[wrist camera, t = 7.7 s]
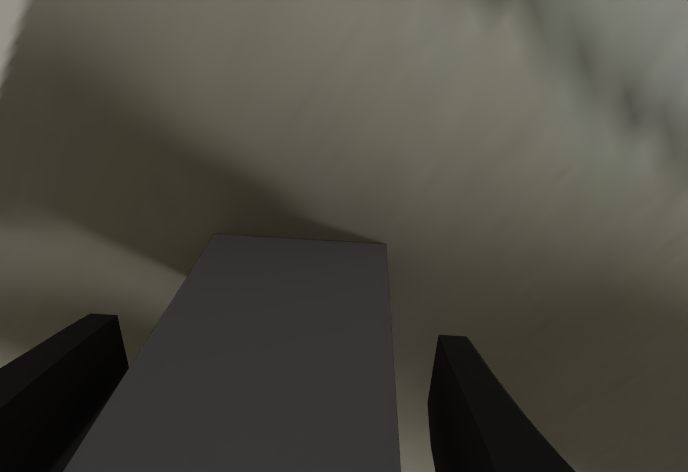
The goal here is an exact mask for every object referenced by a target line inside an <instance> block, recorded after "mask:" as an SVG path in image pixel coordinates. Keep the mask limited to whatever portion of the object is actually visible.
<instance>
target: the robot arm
mask: <svg viewBox="0 0 688 472" xmlns="http://www.w3.org/2000/svg"><path fill="white" fill-rule="evenodd" d="M128 369H129V366H128V362H127V357H126V353H125V348H124V344H123V339H122V335H121V330H120V325H119V321H118V316H117V315H104V314H89V315H87V316H85V317H84V318H82V319H80V320H78V321H77V322H75V323H73V324H71V325H70V326H68V327H66V328H65V329H63V330H62V331H60V332H58V333H57V334H55V335H53V336H52V337H50V338H49V339H47V340H45V341H44V342H42V343H41V344H39V345H37V346H36V347H34V348H33V349H31V350H29V351H28V352H26V353H24V354H23V355H21V356H20V357H18V358H16V359H15V360H13V361H11V362H10V363H8V364H7V365H5V366H3V367H2V368H0V472H63V471H64V470H65V468H66V467H67V465H68V463H69V462H70V460H71V459H72V457H73V456H74V454H75V452H76V451H77V449H78V448H79V446H80V445H81V443H82V441H83V440H84V438H85V437H86V435H87V434H88V432H89V430H90V429H91V427H92V426H93V424H94V423H95V421H96V419H97V418H98V416H99V415H100V413H101V411H102V410H103V408H104V407H105V405H106V404H107V402H108V400H109V399H110V397H111V396H112V394H113V393H114V391H115V389H116V388H117V386H118V385H119V383H120V382H121V380H122V378H123V377H124V375H125V374H126V372H127V371H128ZM428 416H429V429H430V441H431V450H432V455H433V460H434V466H435V471H436V472H575V471H574V470H573V469H572V468H571V466H570V465H569V464H568V463H567V462H566V461H565V460H564V459H563V458H562V457H561V456H560V455H559V454H558V453H557V451H556V450H555V449H554V448H553V447H552V446H551V445H550V443H549V442H548V441H547V440H546V439H545V438H544V437H543V436H542V434H541V433H540V432H539V431H538V430H537V429H536V427H535V426H534V425H533V424H532V423H531V421H530V420H529V419H528V418H527V417H526V415H525V414H524V413H523V412H522V410H521V409H520V408H519V407H518V405H517V404H516V403H515V402H514V400H513V399H512V398H511V396H510V395H509V394H508V393H507V391H506V390H505V389H504V387H503V386H502V385H501V383H500V382H499V381H498V379H497V378H496V377H495V375H494V374H493V373H492V371H491V370H490V368H489V367H488V366H487V364H486V363H485V361H484V360H483V359H482V357H481V356H480V354H479V353H478V351H477V350H476V349H475V347H474V346H473V344H472V343H471V341H470V340H469V339H468V338H467V337H466V336H449V335H438V341H437V348H436V354H435V360H434V366H433V372H432V378H431V385H430V391H429V397H428Z"/></svg>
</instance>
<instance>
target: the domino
mask: <svg viewBox="0 0 688 472" xmlns="http://www.w3.org/2000/svg"><path fill="white" fill-rule="evenodd" d="M63 472H401V465H400V449H399V434H398V419H397V403H396V388H395V373H394V357H393V342H392V327H391V311H390V296H389V281H388V265H387V250H386V244H375V243H358V242H341V241H324V240H307V239H290V238H273V237H256V236H239V235H222V234H214V235H213V237H212V238H211V240H210V242H209V243H208V245H207V246H206V248H205V249H204V251H203V253H202V254H201V256H200V257H199V259H198V260H197V262H196V264H195V265H194V267H193V268H192V270H191V271H190V273H189V275H188V276H187V278H186V279H185V281H184V283H183V284H182V286H181V287H180V289H179V290H178V292H177V294H176V295H175V297H174V298H173V300H172V301H171V303H170V305H169V306H168V308H167V309H166V311H165V312H164V314H163V316H162V317H161V319H160V320H159V322H158V323H157V325H156V327H155V328H154V330H153V331H152V333H151V334H150V336H149V338H148V339H147V341H146V342H145V344H144V345H143V347H142V349H141V350H140V352H139V353H138V355H137V356H136V358H135V360H134V361H133V363H132V364H131V366H130V367H129V369H128V371H127V372H126V374H125V375H124V377H123V378H122V380H121V382H120V383H119V385H118V386H117V388H116V389H115V391H114V393H113V394H112V396H111V397H110V399H109V400H108V402H107V404H106V405H105V407H104V408H103V410H102V411H101V413H100V415H99V416H98V418H97V419H96V421H95V423H94V424H93V426H92V427H91V429H90V430H89V432H88V434H87V435H86V437H85V438H84V440H83V441H82V443H81V445H80V446H79V448H78V449H77V451H76V452H75V454H74V456H73V457H72V459H71V460H70V462H69V463H68V465H67V467H66V468H65V470H64V471H63Z"/></svg>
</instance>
